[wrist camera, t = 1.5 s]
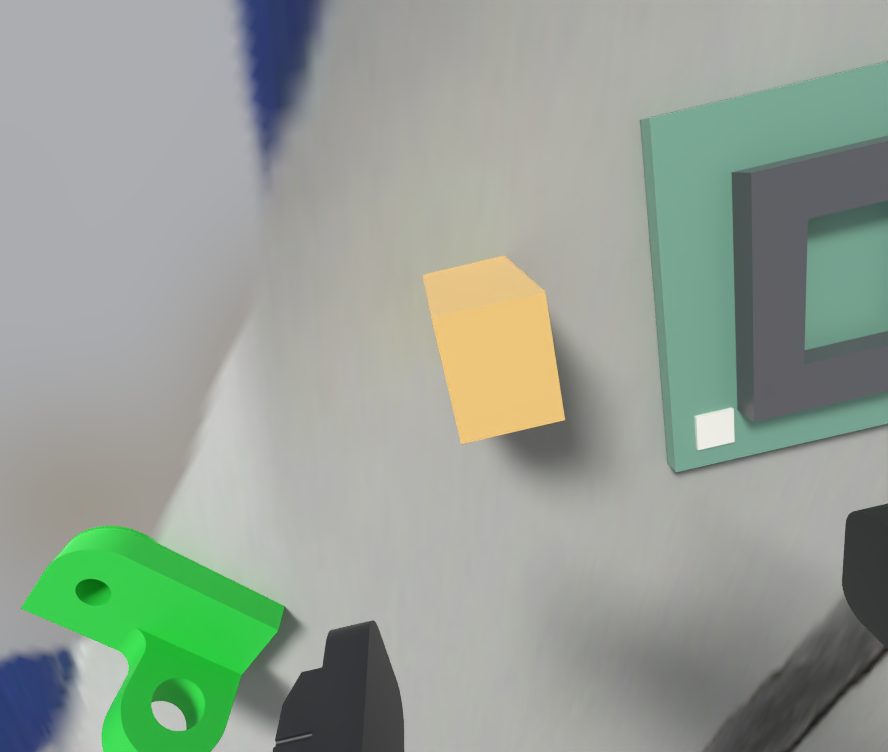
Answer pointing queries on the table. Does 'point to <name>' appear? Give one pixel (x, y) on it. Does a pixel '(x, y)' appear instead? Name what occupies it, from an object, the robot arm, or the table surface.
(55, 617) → the mechanical part
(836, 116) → the socket board
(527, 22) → the table surface
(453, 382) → the amber plug
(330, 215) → the table surface
